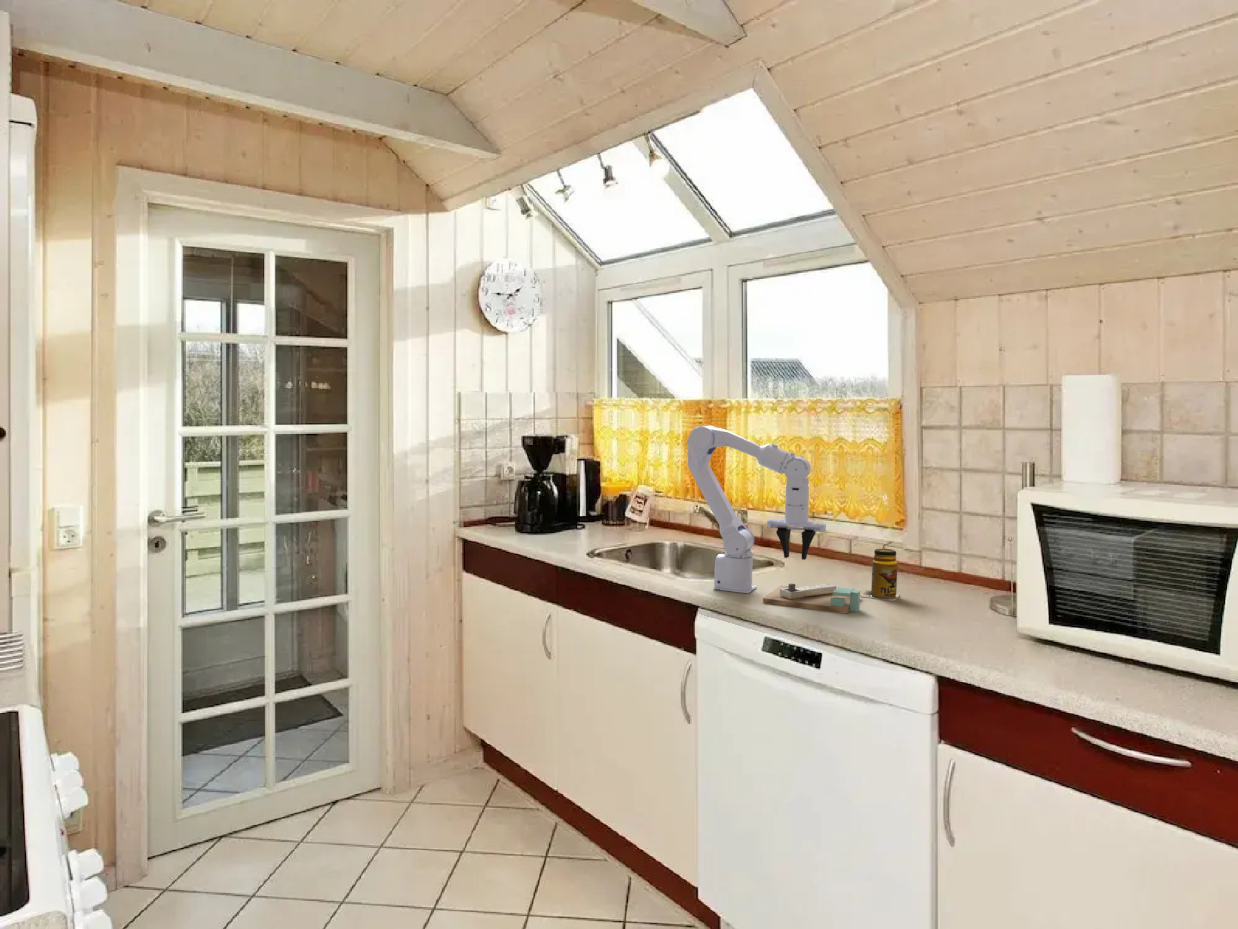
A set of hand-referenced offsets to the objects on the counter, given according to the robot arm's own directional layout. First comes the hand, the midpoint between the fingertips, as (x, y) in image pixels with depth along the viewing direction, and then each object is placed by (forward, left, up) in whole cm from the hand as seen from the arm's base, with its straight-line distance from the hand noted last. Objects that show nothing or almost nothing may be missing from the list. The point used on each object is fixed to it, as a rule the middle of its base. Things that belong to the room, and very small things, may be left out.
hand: (795, 558), depth 199 cm
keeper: (+14, -8, -9) cm, 19 cm away
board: (+6, -4, -9) cm, 12 cm away
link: (+5, -4, -8) cm, 10 cm away
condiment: (+20, +10, -10) cm, 24 cm away
